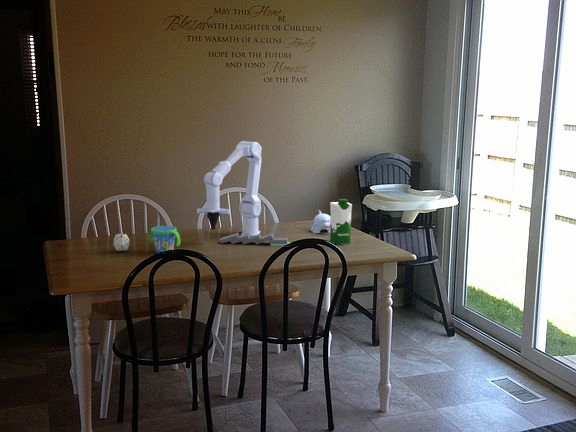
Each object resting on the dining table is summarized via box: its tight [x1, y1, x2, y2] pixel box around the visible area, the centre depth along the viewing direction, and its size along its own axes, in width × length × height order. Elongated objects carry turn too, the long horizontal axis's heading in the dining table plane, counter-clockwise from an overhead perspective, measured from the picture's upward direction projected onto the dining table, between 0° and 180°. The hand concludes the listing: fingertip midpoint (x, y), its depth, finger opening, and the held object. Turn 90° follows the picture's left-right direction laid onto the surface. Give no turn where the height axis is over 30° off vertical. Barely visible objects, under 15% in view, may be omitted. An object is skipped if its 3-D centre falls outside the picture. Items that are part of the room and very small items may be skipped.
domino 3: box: [241, 233, 262, 245], centre depth 280 cm, size 2×5×8 cm
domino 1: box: [219, 232, 240, 244], centre depth 281 cm, size 2×5×8 cm
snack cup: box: [147, 225, 182, 254], centre depth 264 cm, size 16×10×10 cm
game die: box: [110, 232, 133, 253], centre depth 264 cm, size 9×8×10 cm
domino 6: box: [270, 241, 291, 247], centre depth 278 cm, size 2×5×8 cm
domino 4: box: [254, 232, 275, 246], centre depth 279 cm, size 2×5×8 cm
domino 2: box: [230, 233, 251, 245], centre depth 281 cm, size 2×5×8 cm
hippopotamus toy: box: [310, 209, 331, 234], centre depth 304 cm, size 11×15×10 cm
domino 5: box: [268, 237, 289, 245], centre depth 279 cm, size 2×5×8 cm
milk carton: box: [329, 198, 353, 245], centre depth 281 cm, size 9×9×20 cm
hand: (213, 229), depth 281 cm, fingers closed
